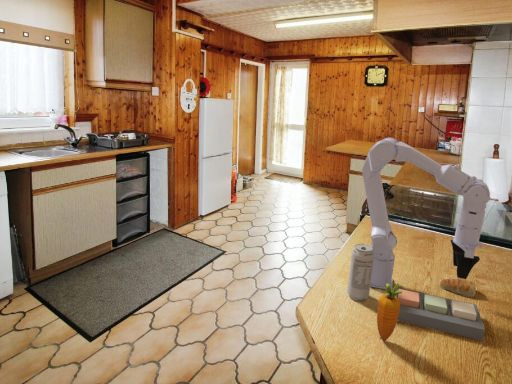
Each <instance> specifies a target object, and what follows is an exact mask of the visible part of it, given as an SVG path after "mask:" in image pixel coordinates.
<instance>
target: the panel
mask: <svg viewBox="0 0 512 384" xmlns="http://www.w3.org/2000/svg"><path fill="white" fill-rule="evenodd" d="M394 287H395V286H392V290H391V292H392V291H393V290H394ZM399 289H402V290H407V291H411V292H416V293H419V307H418V308H415V307H410V306H406V305H401V304H400V310H399V315H398V320H397V322H401V323H406V324H410V325H414V326H418V327H422V328H426V329H430V330H435V331H440V332H444V333H448V334H452V335H456V336H459V337H465V338H469V339H473V340H477V341H484V336H485V332H486V328H485V326H484V322H483V320H482V316H481V314H480V311H479V308H478V305H477V304H476V303H471V302H465V301H460V300H456V299H451V298H447V297H442V296H437V295H432V294H430V295H431V296H435V297H440V298H445V299H446V304H447V312H446V314H442V313H437V312H433V311H428V310H424V309H423V301H424V296H425V294H426V295H429V294H428V293H423V292H418V291H414V290H413V291H412V290H409V289H404V288H399V287H398V288H397V290H396V291H399ZM395 297H396V298H398V294H397V295H396V296H395ZM452 300H454V301H459V302H464V303H469V304H473V305H474V308H475V311H476V314H477V316H476V320H475V321H473V320H469V319H464V318H460V317H455V316H452V315H451V310H450V306H451V301H452Z"/></svg>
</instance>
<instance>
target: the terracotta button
mask: <svg viewBox="0 0 512 384" xmlns="http://www.w3.org/2000/svg"><path fill="white" fill-rule="evenodd" d="M402 289H403V288H400V289H399V291H402V293H399V294H398V299H399V300H400V304H401V305H406V306H410V307H415V308H418V307H419V293H420V292H419V293H416V292H417V291H414V292H411V291H412V290H409V291H407V290H408V289H405V290H402Z"/></svg>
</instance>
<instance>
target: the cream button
mask: <svg viewBox="0 0 512 384" xmlns="http://www.w3.org/2000/svg"><path fill="white" fill-rule="evenodd" d="M454 300H455V299H452V301H451V306H450V310H451V315H452V316H455V317H460V318H464V319H469V320H473V321H475V320H476V316H477V314H476V311H475V308H474V305H473V304H474V303H471V304H469V303H470V302H467V303H464V302H465V301H462V302H459V301H460V300H457V301H454Z"/></svg>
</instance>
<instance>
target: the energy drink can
mask: <svg viewBox="0 0 512 384" xmlns="http://www.w3.org/2000/svg"><path fill="white" fill-rule="evenodd" d="M373 261H374V253H373V248H372V247H371V246H370V245H369V244H364V243H357V244H355V245H354V247H353V249H352V250H351V255H350V265H349V273H348V283H347V290H346V291H347V294H348V295H349V296H348V297H349V298H350V299H352V300H355V301H360V302H361V301H366V300H367V298H369V295H370V290H371V289H370V288H371V286H370V284H371V276H372V269H373Z"/></svg>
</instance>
